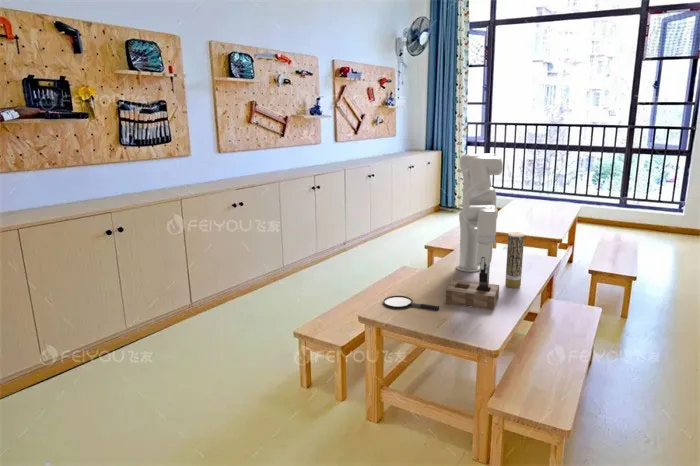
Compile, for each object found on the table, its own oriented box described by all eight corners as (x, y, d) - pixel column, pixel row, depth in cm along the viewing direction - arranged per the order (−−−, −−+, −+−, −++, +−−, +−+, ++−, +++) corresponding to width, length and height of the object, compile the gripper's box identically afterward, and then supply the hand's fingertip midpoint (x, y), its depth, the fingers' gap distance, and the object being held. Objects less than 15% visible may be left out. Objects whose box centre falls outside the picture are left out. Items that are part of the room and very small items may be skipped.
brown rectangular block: (452, 291, 220) (453, 279, 218) (498, 297, 211) (499, 285, 210) (445, 303, 207) (445, 289, 206) (493, 310, 199) (494, 296, 198)
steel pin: (479, 287, 209) (480, 260, 206) (489, 288, 207) (490, 261, 204) (477, 290, 205) (479, 263, 202) (487, 291, 203) (489, 264, 200)
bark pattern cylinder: (521, 289, 221) (525, 236, 215) (505, 288, 222) (509, 235, 216) (519, 283, 227) (523, 232, 221) (504, 283, 229) (507, 231, 222)
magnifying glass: (433, 316, 195) (433, 311, 195) (378, 308, 206) (378, 303, 205) (442, 305, 206) (442, 300, 205) (390, 297, 217) (389, 293, 216)
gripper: (480, 232, 209) (478, 273, 214) (473, 242, 195) (471, 285, 199) (498, 234, 206) (496, 275, 211) (492, 244, 192) (489, 287, 196)
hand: (484, 279), depth 205 cm, fingers closed on steel pin, 4 cm apart
